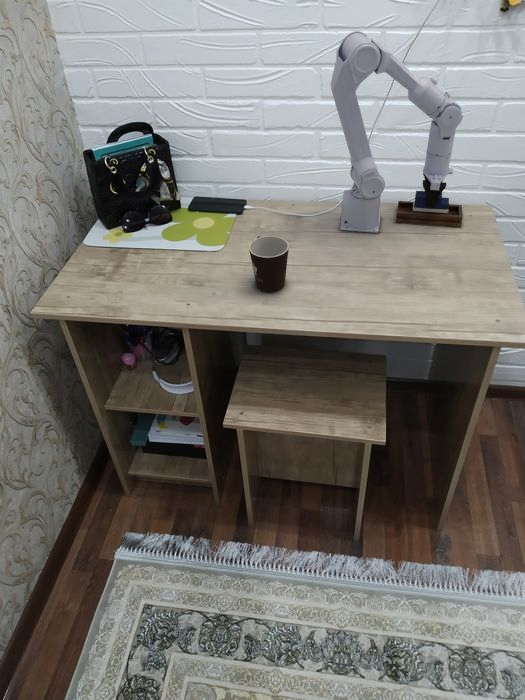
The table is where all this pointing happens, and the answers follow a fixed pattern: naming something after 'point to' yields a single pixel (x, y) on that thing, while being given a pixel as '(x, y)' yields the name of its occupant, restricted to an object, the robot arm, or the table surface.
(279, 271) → the coffee mug
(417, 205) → the dark blue stepped block
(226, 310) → the table surface
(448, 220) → the wooden serving tray
